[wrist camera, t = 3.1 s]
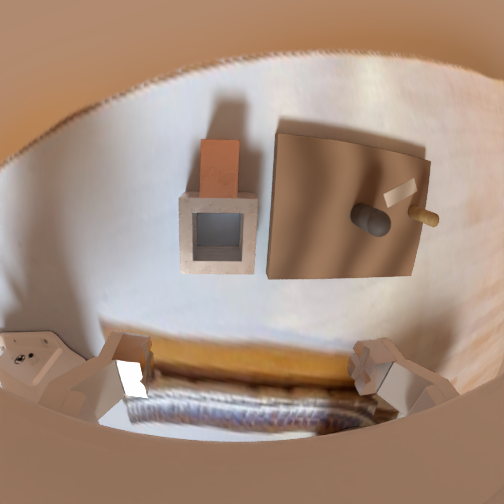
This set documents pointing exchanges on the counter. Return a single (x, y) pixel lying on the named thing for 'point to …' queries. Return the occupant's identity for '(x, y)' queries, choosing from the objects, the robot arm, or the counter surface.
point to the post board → (344, 210)
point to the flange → (218, 201)
